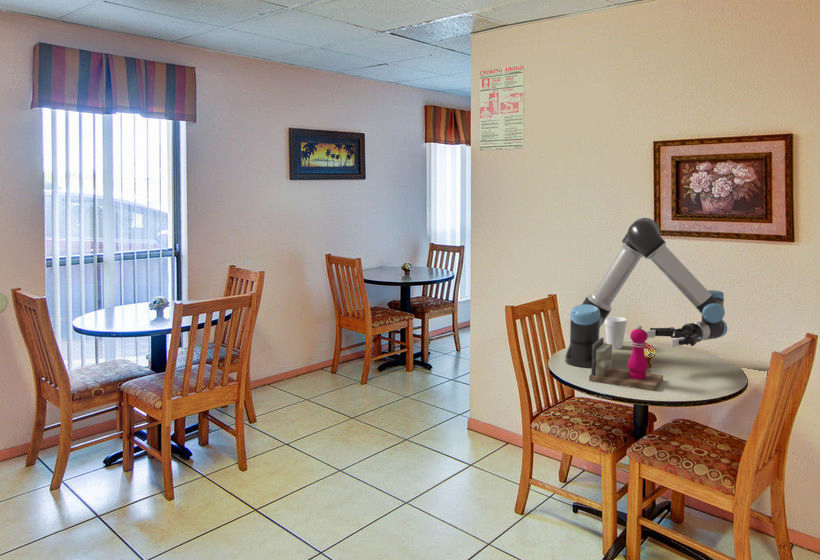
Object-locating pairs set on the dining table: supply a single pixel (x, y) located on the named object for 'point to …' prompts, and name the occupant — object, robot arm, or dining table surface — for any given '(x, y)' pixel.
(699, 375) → the dining table surface
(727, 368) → the dining table surface
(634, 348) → the pepper mill
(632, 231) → the robot arm
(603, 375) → the wooden bookend
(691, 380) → the dining table surface
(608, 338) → the foam cup
